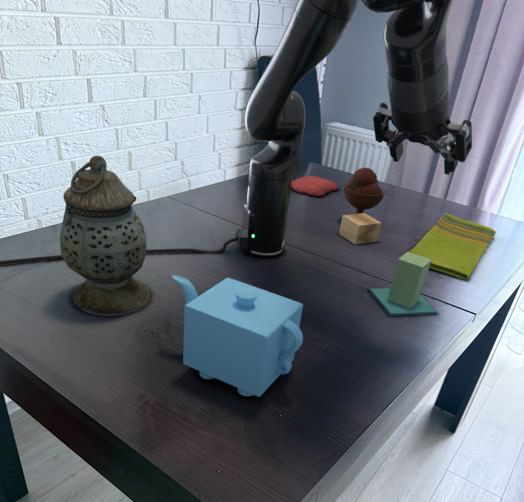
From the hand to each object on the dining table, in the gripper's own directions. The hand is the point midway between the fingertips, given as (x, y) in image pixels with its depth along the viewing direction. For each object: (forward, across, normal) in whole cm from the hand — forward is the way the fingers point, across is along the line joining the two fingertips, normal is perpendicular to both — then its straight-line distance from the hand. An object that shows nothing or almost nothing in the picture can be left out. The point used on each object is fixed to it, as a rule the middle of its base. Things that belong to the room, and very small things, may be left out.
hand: (423, 163), depth 81 cm
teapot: (-3, +12, +43) cm, 45 cm away
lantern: (-1, +41, +42) cm, 59 cm away
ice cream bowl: (+51, +26, -10) cm, 58 cm away
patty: (+63, +51, -22) cm, 84 cm away
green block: (+26, -1, +14) cm, 29 cm away
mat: (+26, -1, +14) cm, 30 cm away
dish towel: (+54, 0, -13) cm, 55 cm away
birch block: (+44, +21, -3) cm, 49 cm away
